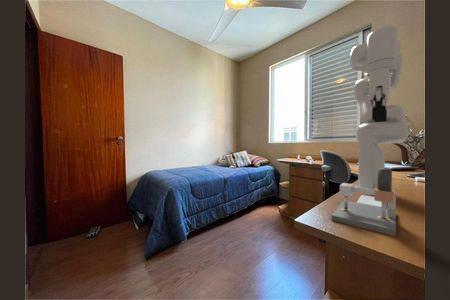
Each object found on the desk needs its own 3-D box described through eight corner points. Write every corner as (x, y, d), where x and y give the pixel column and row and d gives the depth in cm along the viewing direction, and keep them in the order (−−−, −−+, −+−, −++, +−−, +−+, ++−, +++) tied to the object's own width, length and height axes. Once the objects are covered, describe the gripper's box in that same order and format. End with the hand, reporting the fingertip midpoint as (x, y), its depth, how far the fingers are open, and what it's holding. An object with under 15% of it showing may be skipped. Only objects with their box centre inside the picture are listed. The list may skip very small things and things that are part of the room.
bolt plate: (343, 204, 67) (343, 200, 67) (395, 214, 58) (395, 209, 58) (331, 220, 54) (331, 214, 54) (395, 236, 45) (395, 229, 45)
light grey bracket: (342, 206, 61) (342, 182, 61) (395, 216, 52) (395, 189, 52) (339, 210, 58) (339, 185, 57) (395, 222, 49) (395, 192, 48)
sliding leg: (374, 213, 54) (375, 167, 53) (393, 216, 51) (394, 169, 51) (374, 216, 52) (375, 169, 51) (393, 220, 49) (394, 170, 48)
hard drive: (360, 194, 75) (356, 202, 66) (387, 198, 70) (386, 207, 61) (360, 198, 76) (356, 206, 66) (387, 203, 70) (385, 212, 61)
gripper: (369, 78, 69) (368, 123, 70) (363, 64, 56) (362, 119, 57) (396, 72, 64) (394, 121, 65) (396, 56, 51) (394, 117, 52)
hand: (379, 120), depth 61 cm, fingers open, 9 cm apart
